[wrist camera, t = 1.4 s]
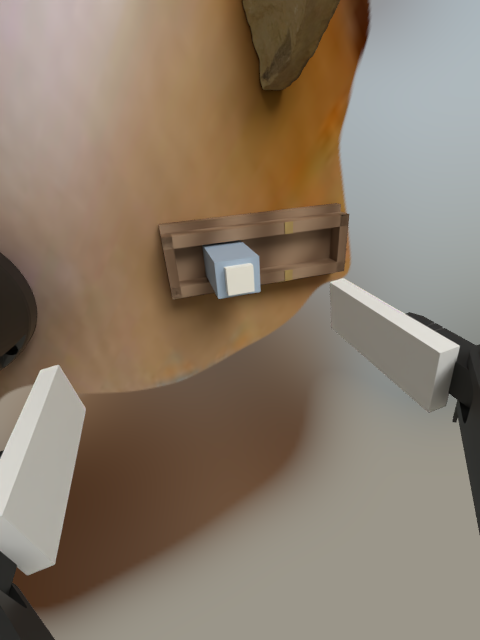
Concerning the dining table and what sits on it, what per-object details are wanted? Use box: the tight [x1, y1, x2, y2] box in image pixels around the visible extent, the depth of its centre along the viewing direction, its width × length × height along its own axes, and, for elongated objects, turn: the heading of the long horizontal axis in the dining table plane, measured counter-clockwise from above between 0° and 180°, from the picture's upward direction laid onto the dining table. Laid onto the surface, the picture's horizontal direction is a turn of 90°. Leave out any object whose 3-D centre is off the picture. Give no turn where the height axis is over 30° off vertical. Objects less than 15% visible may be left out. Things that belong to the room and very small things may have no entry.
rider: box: [202, 240, 261, 299], centre depth 30 cm, size 4×3×8 cm
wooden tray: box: [159, 203, 349, 300], centre depth 34 cm, size 20×8×3 cm, turn 95°
